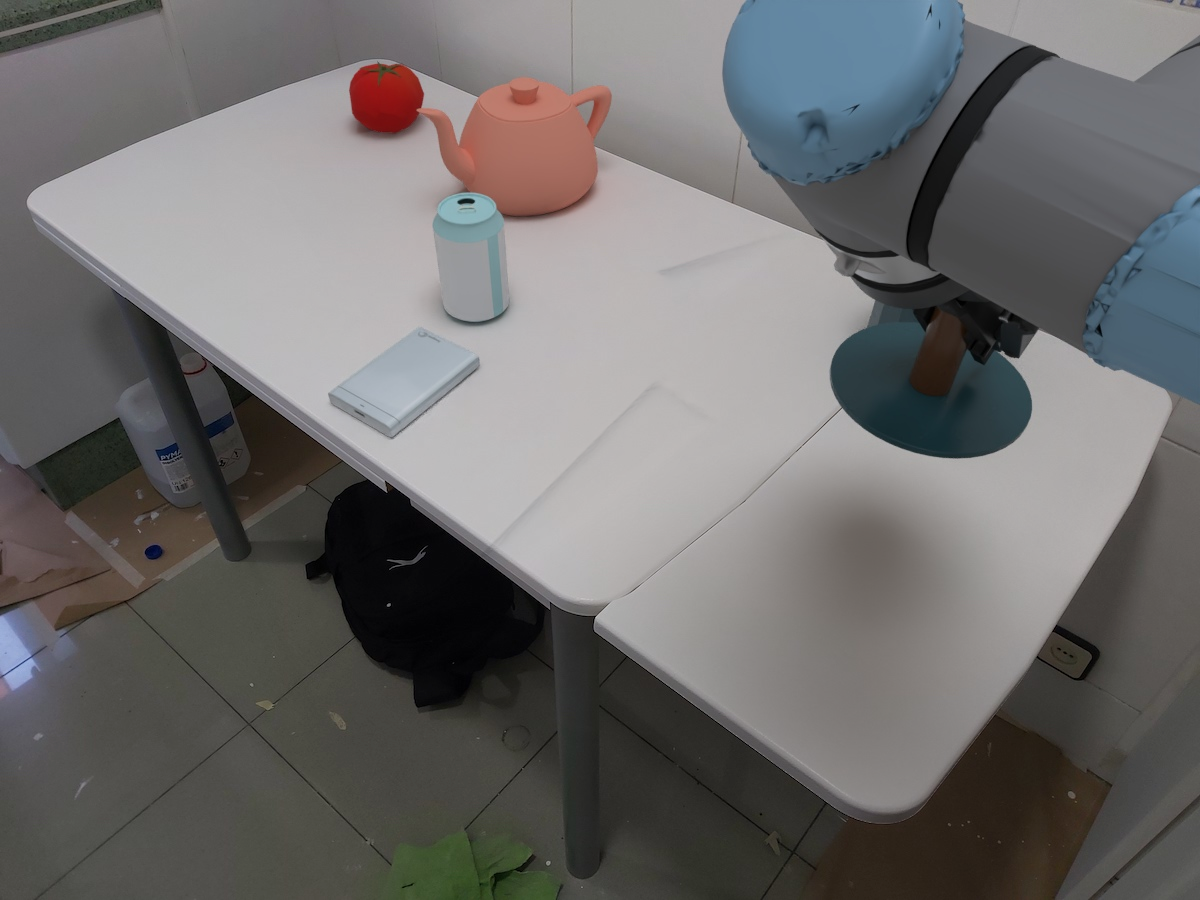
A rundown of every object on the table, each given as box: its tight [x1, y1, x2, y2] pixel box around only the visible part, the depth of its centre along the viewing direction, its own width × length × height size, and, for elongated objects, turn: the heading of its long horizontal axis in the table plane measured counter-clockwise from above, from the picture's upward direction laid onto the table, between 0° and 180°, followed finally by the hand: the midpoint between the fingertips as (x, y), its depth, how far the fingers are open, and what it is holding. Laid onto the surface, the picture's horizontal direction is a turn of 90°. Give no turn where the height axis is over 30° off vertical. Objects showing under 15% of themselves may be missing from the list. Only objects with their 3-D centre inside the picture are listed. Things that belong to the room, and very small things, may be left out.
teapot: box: [417, 76, 613, 217], centre depth 107 cm, size 25×17×13 cm
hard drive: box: [327, 326, 481, 438], centre depth 85 cm, size 2×8×12 cm
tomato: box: [348, 60, 425, 134], centre depth 120 cm, size 9×10×8 cm
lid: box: [829, 306, 1033, 460], centre depth 58 cm, size 13×13×9 cm
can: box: [432, 192, 510, 323], centre depth 91 cm, size 7×7×12 cm
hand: (966, 333), depth 61 cm, fingers closed on lid, 3 cm apart
